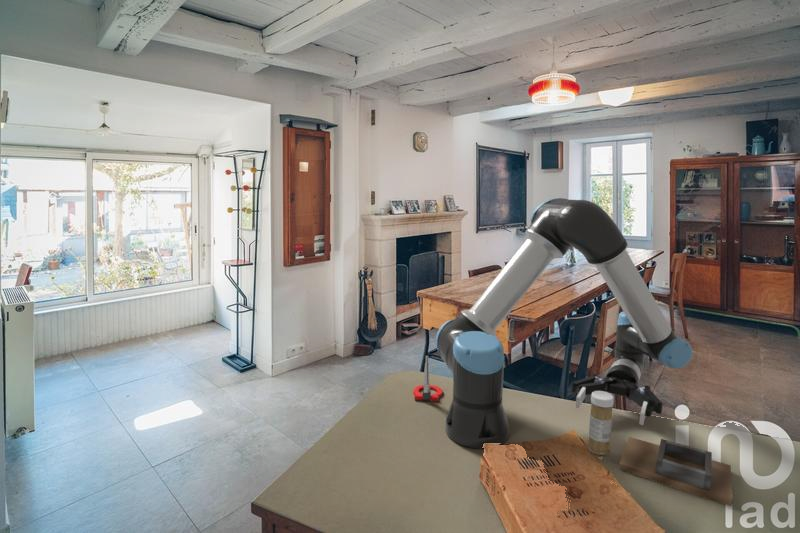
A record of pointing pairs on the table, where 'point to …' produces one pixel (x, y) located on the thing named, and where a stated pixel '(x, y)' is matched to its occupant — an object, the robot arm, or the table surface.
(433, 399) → the tow hook
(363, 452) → the table surface
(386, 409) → the table surface
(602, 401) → the sprinkles bottle
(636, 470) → the cup bracket
